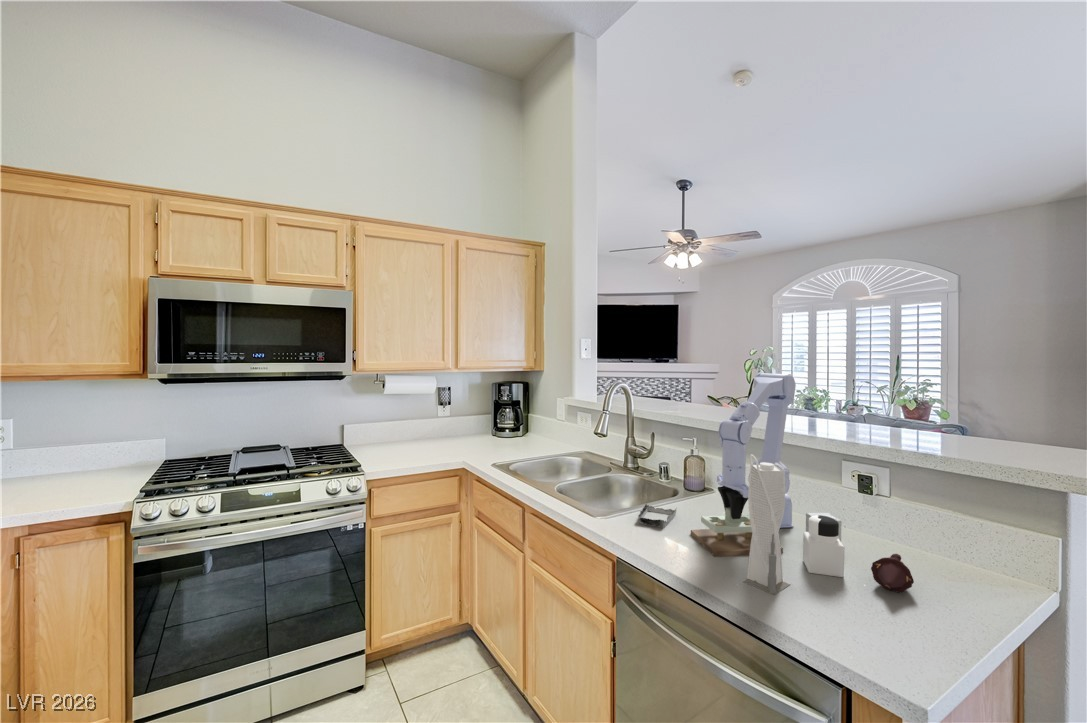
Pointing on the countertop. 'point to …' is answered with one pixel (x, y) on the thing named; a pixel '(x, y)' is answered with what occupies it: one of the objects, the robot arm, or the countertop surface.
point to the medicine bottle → (823, 547)
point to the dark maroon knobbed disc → (892, 573)
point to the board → (725, 541)
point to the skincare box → (822, 515)
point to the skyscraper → (766, 526)
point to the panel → (727, 523)
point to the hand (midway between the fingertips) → (732, 516)
